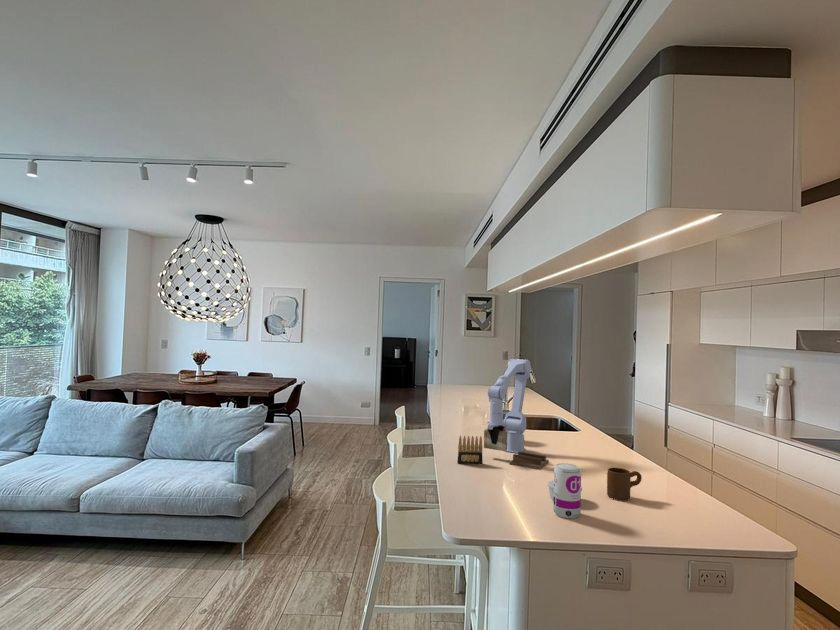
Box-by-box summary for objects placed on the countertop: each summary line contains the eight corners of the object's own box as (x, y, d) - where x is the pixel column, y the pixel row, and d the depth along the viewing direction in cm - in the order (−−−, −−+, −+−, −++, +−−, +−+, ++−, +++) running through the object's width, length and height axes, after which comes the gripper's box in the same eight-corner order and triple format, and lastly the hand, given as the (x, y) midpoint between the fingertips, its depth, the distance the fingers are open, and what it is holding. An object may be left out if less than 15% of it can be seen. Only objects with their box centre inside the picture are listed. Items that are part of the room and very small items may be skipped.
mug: (635, 493, 174) (636, 467, 175) (646, 501, 167) (647, 473, 167) (603, 493, 174) (603, 467, 174) (612, 501, 166) (613, 473, 166)
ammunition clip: (482, 463, 209) (482, 435, 210) (482, 464, 208) (483, 436, 208) (457, 462, 210) (458, 434, 210) (457, 463, 208) (458, 435, 208)
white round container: (588, 505, 162) (588, 489, 162) (558, 507, 159) (558, 491, 159) (570, 493, 173) (570, 478, 173) (541, 495, 170) (542, 480, 170)
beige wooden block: (486, 446, 222) (486, 429, 222) (507, 449, 216) (507, 431, 217) (483, 447, 219) (484, 430, 219) (504, 451, 214) (505, 433, 214)
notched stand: (520, 457, 221) (520, 449, 221) (548, 462, 214) (548, 454, 214) (509, 464, 209) (509, 456, 209) (539, 469, 202) (539, 461, 202)
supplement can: (585, 518, 150) (586, 469, 151) (562, 520, 148) (563, 470, 148) (570, 508, 158) (571, 462, 158) (548, 510, 156) (549, 463, 156)
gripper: (494, 409, 226) (493, 438, 226) (481, 413, 214) (481, 444, 214) (508, 411, 223) (508, 440, 222) (496, 415, 210) (496, 447, 210)
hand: (495, 443), depth 218 cm, fingers closed on beige wooden block, 3 cm apart
